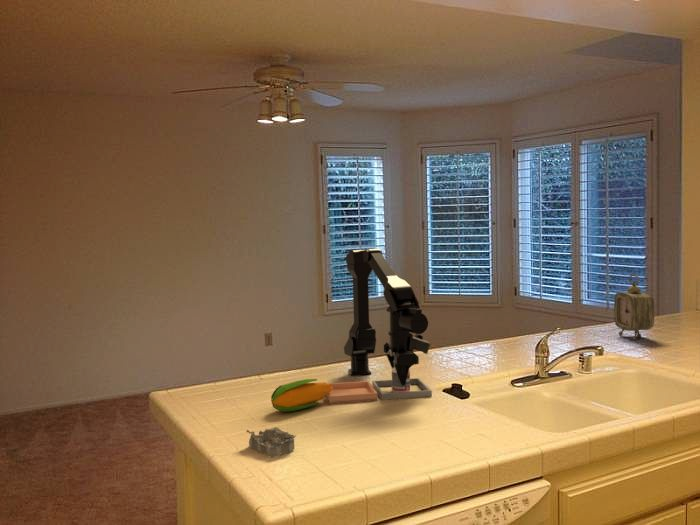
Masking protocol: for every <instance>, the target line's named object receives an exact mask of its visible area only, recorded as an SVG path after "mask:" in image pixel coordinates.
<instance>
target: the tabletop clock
mask: <svg viewBox="0 0 700 525" xmlns="http://www.w3.org/2000/svg"><path fill="white" fill-rule="evenodd" d="M632 277H635V278H636V279H637V283H636V281H635V280H634V281H632V280H631V278H632ZM628 282H629V284H631V286H629V287H628V288H627V289H626V292H625V291H624V292H616V293H615V296H614V303H613V304H614V306H613V312H614V313H613V314H614V315H613V317H614V324H615V325H616V327H617V328H618V329H620V331H618V335H619V336H623V334H624V331H631V332H632V331H634V336H633V337H632V340H633V341H637V340H638V339H639V338H641V337H642V334H641V333H640V331H648V330H651V329H652V328H654V325H655V310H656V309H655V300H654V298H653V297H652V296H650V295H649V294H647V293H644V292H642V289H641V288H640V287H639V286H638V285H640V278H639V276H638V275H637V274H630V275H629V278H628ZM621 329H622V330H621Z"/></svg>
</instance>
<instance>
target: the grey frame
mask: <svg viewBox="0 0 700 525" xmlns="http://www.w3.org/2000/svg"><path fill="white" fill-rule="evenodd" d="M371 385H372V386H373V388H374V389H375V391H376V392H377V396H379V398H380V399H381V400H393V399H395V400H396V399H397V398H398V399H409V398H410V397H411V398H412V397H413V398H425V397H426V396H427V397H433V393H432V392H433V391H432V389H431V388H429V387H428V385H427V384H426V383H424V381H423V380H422V379H421V378H419V377H413V378H411V377H410V385H418V386H419V387H420V388H421V389H422V390H413V391H412V390H410V391H408V392H393V391H392V392H384V391H382V389H381V388H380V387H390V386H391V387H392V379H382V380H381V379H380V380H379V379H378V380H372V381H371ZM427 397H426V398H427ZM411 398H410V399H411ZM413 398H412V399H413Z"/></svg>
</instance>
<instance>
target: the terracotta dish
mask: <svg viewBox="0 0 700 525" xmlns="http://www.w3.org/2000/svg"><path fill="white" fill-rule="evenodd" d="M328 384H329V385H331V386H333V390H332V391H331V392H330V393H329V394H327V395H326V396H325V397H326V398H327V400H328V403H329V404H330V405H331V404H344V403H357V402H358V403H359V402H360V403H361V402H371V401H372V402H373V401H375V400H376V401H378V393H377V392H376V391H375V389H374V388H373V386H372V383H371V382H370V381H369V380H368V381H367V380H365V381H364V380H363V381H349V382H348V381H347V382H334V383H332V382H331V383H328Z"/></svg>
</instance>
